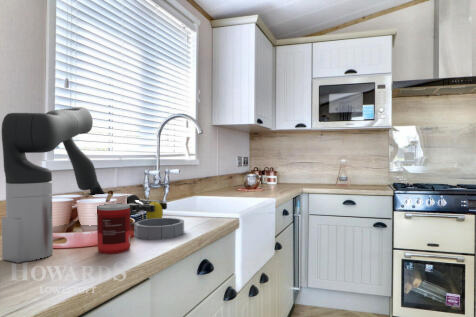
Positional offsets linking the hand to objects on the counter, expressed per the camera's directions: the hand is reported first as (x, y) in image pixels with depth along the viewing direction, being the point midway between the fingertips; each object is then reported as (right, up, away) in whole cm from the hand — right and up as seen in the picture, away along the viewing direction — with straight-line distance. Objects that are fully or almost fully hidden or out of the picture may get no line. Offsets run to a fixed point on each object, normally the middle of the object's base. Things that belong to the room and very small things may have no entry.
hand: (160, 207), depth 117 cm
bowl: (+3, -6, -13) cm, 14 cm away
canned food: (-5, -7, -30) cm, 31 cm away
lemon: (-2, -6, +1) cm, 7 cm away
